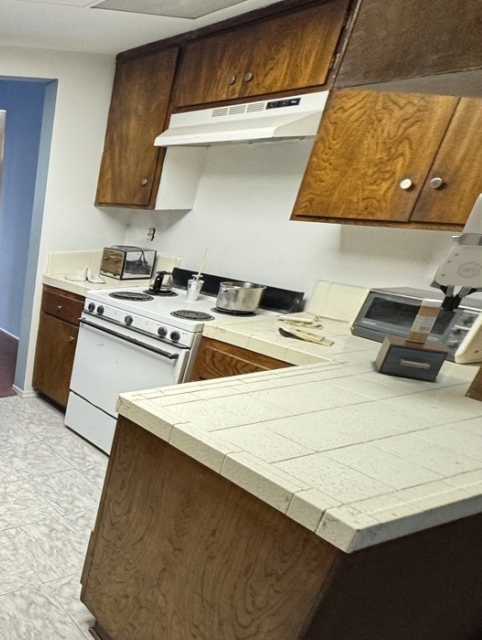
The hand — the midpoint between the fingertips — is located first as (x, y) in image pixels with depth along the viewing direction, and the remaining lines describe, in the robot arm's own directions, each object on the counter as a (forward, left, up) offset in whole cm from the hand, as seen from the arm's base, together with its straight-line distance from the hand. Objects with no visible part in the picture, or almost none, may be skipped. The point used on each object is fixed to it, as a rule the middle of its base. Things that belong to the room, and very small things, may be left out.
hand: (447, 310), depth 129 cm
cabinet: (0, -21, -23) cm, 31 cm away
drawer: (0, -17, -22) cm, 28 cm away
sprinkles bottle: (0, -23, -14) cm, 27 cm away
